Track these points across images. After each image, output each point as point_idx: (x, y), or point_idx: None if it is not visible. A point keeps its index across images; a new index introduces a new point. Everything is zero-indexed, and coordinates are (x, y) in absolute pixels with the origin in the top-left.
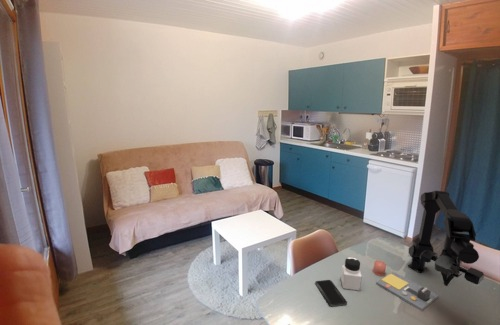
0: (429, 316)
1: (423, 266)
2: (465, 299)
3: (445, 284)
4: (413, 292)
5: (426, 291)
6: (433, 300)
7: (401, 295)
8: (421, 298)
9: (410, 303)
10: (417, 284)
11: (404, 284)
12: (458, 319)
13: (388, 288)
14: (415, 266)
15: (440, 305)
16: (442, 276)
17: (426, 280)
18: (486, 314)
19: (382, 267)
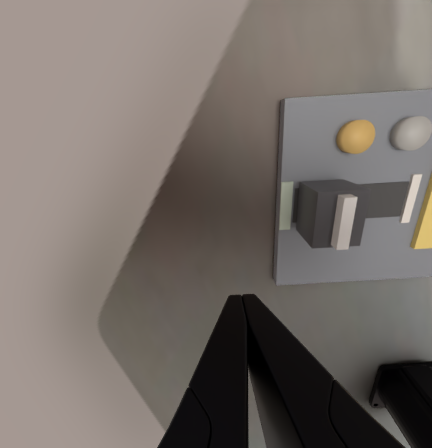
0: (236, 96)
1: (395, 403)
2: (204, 349)
3: (246, 302)
4: (369, 199)
5: (329, 224)
6: (276, 236)
7: (417, 103)
8: (322, 181)
9: (348, 96)
10: (373, 278)
11: (430, 217)
12: (154, 212)
13: None
14: (423, 380)
15: (242, 235)
16: (343, 393)
17: (347, 340)
18: (124, 331)
19: None
